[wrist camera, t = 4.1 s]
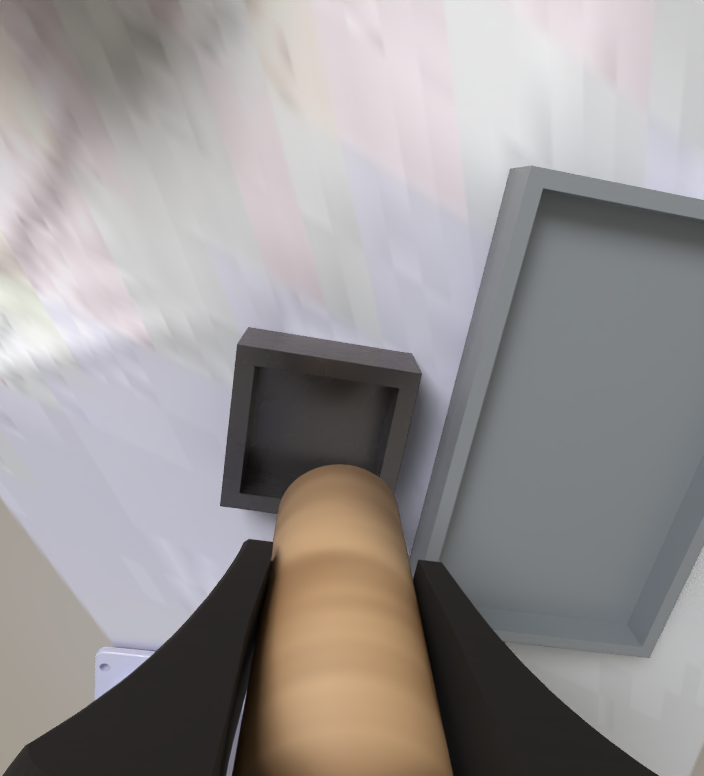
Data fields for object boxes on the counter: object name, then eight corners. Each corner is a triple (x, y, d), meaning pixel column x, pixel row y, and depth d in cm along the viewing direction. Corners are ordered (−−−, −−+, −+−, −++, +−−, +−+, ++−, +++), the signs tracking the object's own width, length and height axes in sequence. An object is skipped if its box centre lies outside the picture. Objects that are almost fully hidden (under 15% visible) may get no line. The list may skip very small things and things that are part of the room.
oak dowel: (386, 573, 16) (430, 891, 9) (271, 560, 16) (217, 878, 9) (409, 473, 15) (484, 743, 8) (285, 456, 15) (237, 722, 7)
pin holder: (380, 493, 24) (385, 527, 22) (231, 473, 24) (220, 506, 21) (411, 353, 22) (421, 373, 19) (248, 327, 21) (237, 344, 19)
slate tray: (625, 622, 27) (649, 658, 25) (400, 596, 26) (405, 630, 24) (802, 227, 21) (854, 230, 19) (510, 168, 20) (531, 165, 17)
